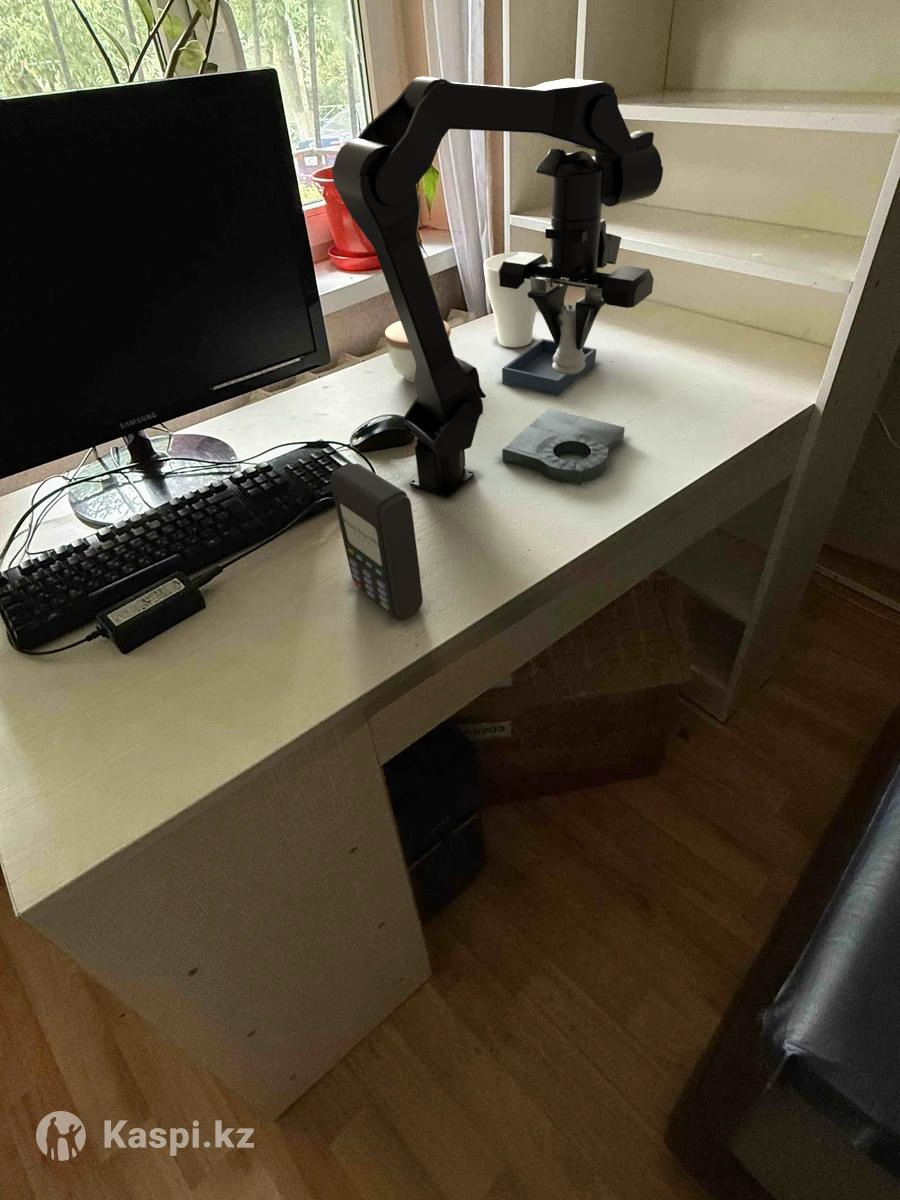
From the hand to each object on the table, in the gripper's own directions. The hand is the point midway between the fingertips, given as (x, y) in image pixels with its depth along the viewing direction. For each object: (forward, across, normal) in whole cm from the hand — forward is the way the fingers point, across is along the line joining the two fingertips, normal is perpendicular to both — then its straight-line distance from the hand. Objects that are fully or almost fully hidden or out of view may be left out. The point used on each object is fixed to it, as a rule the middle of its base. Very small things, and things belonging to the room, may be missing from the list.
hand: (569, 346), depth 90 cm
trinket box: (+13, +31, -6) cm, 34 cm away
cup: (+13, +24, -25) cm, 37 cm away
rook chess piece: (+3, 0, 0) cm, 3 cm away
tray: (+13, +12, -16) cm, 24 cm away
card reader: (+13, 0, +41) cm, 43 cm away
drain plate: (+13, -2, +4) cm, 14 cm away
